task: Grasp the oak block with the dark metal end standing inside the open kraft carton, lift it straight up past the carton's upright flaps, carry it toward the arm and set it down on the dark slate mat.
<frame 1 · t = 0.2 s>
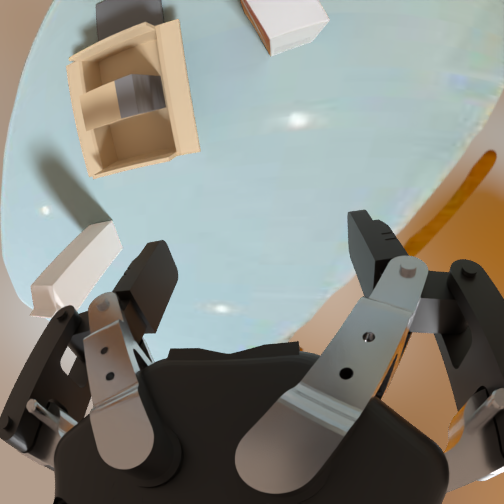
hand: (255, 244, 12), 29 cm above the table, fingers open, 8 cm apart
small box: (278, 27, 27), on the table
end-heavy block: (138, 98, 33), resting on carton
carton: (140, 98, 33), on the table
milk: (106, 235, 47), on the table
slate mat: (128, 13, 25), on the table
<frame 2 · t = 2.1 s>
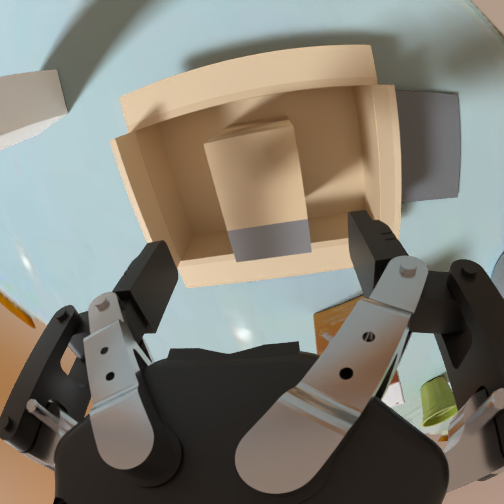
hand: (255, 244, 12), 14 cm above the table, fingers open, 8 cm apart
small box: (348, 316, 34), on the table
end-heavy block: (266, 162, 23), resting on carton
carton: (266, 161, 24), on the table
plant pot: (432, 382, 44), on the table
milk: (47, 102, 21), on the table
slate mat: (423, 146, 21), on the table
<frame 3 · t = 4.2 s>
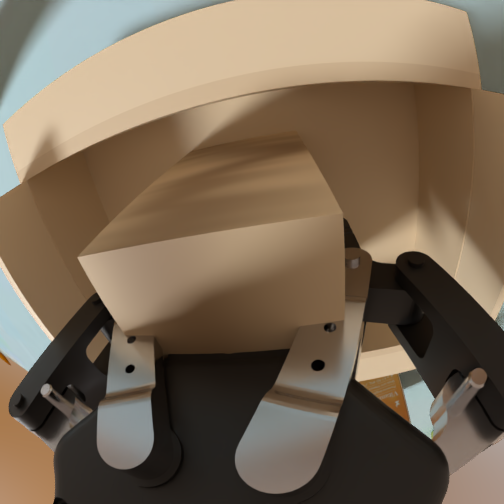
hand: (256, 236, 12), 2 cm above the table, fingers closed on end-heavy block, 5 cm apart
small box: (363, 390, 24), on the table
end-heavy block: (259, 216, 14), resting on carton, touching gripper
carton: (259, 213, 14), on the table
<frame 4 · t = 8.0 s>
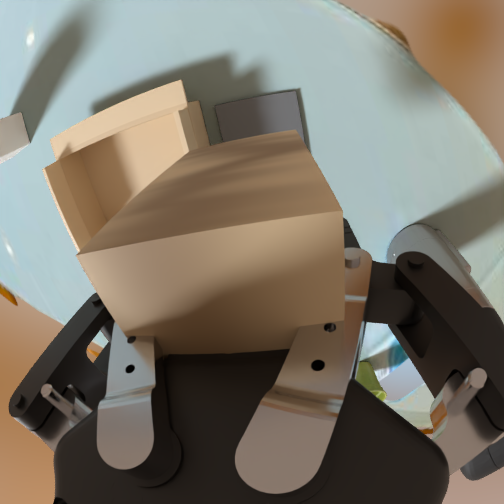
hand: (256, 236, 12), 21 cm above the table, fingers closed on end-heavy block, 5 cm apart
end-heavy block: (258, 215, 14), point 19 cm above the table, touching gripper
carton: (144, 170, 32), on the table
plant pot: (358, 367, 53), on the table
milk: (17, 134, 28), on the table
slate mat: (264, 142, 30), on the table
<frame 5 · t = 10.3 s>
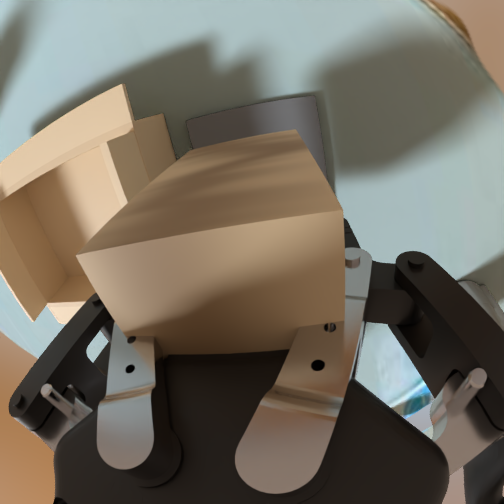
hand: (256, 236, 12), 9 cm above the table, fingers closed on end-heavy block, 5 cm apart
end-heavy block: (258, 215, 14), point 7 cm above the table, touching gripper
carton: (98, 215, 23), on the table
slate mat: (264, 177, 20), on the table
when the fingers open (4 cm above the table, at t = 12.3 s): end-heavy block drops 1 cm, resting on slate mat.
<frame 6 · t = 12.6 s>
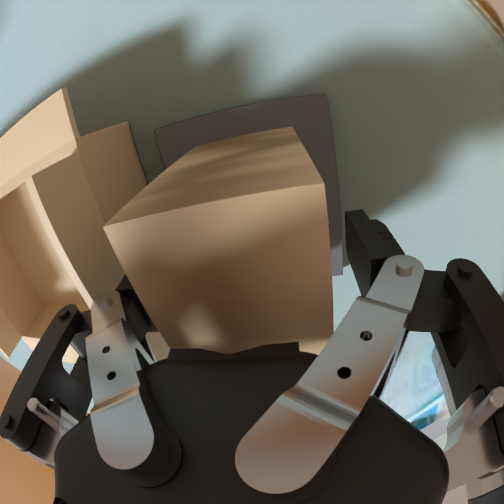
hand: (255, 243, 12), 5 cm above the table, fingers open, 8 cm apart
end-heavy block: (258, 205, 15), point 1 cm above the table, touching slate mat
carton: (65, 243, 18), on the table
slate mat: (258, 202, 16), on the table
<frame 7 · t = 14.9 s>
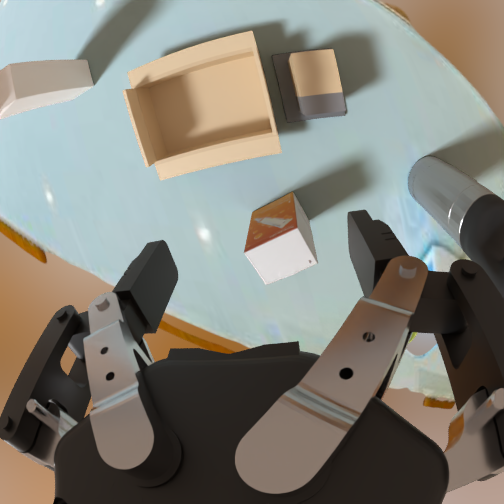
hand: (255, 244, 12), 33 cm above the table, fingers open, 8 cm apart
small box: (280, 215, 47), on the table
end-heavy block: (310, 84, 34), point 1 cm above the table, touching slate mat
carton: (208, 104, 37), on the table
milk: (79, 80, 34), on the table
slate mat: (309, 84, 35), on the table
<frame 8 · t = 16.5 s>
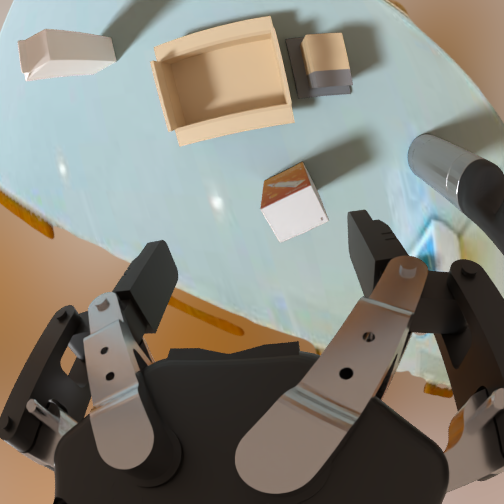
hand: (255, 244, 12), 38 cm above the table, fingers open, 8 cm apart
small box: (290, 184, 49), on the table
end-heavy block: (319, 65, 36), point 1 cm above the table, touching slate mat
carton: (227, 80, 39), on the table
milk: (102, 56, 36), on the table
slate mat: (318, 65, 37), on the table
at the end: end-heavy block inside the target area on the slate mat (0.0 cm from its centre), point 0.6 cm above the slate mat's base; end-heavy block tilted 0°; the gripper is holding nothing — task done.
